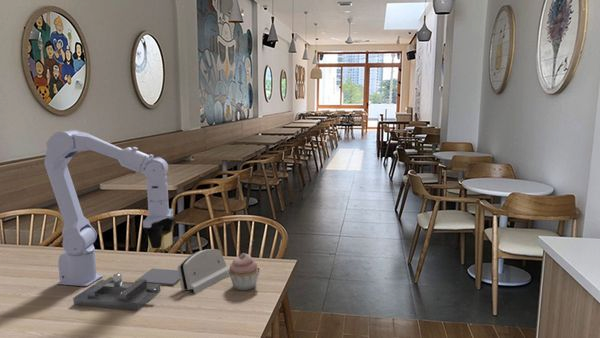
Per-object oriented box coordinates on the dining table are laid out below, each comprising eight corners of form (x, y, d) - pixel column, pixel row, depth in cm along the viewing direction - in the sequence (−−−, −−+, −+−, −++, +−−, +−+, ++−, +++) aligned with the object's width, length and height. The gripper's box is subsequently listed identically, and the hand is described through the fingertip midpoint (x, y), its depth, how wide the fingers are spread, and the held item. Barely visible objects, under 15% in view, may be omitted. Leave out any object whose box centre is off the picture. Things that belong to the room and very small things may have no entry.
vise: (73, 305, 117) (71, 281, 116) (101, 286, 129) (100, 264, 128) (146, 311, 114) (145, 286, 113) (169, 291, 125) (167, 269, 124)
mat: (135, 282, 131) (135, 280, 131) (152, 270, 141) (152, 268, 141) (173, 285, 129) (173, 283, 129) (188, 272, 139) (188, 270, 139)
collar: (148, 248, 132) (147, 235, 131) (157, 243, 136) (156, 230, 136) (164, 249, 131) (164, 236, 130) (172, 244, 135) (171, 231, 135)
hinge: (195, 294, 124) (184, 259, 124) (183, 296, 126) (172, 262, 126) (232, 273, 138) (223, 242, 138) (221, 276, 140) (211, 245, 141)
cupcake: (220, 286, 128) (219, 253, 127) (246, 277, 135) (245, 245, 134) (242, 296, 122) (241, 260, 121) (267, 286, 129) (267, 252, 127)
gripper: (158, 206, 124) (161, 253, 126) (181, 195, 138) (183, 238, 140) (135, 205, 125) (137, 252, 127) (160, 194, 139) (162, 237, 141)
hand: (160, 244), depth 133 cm, fingers closed on collar, 5 cm apart
